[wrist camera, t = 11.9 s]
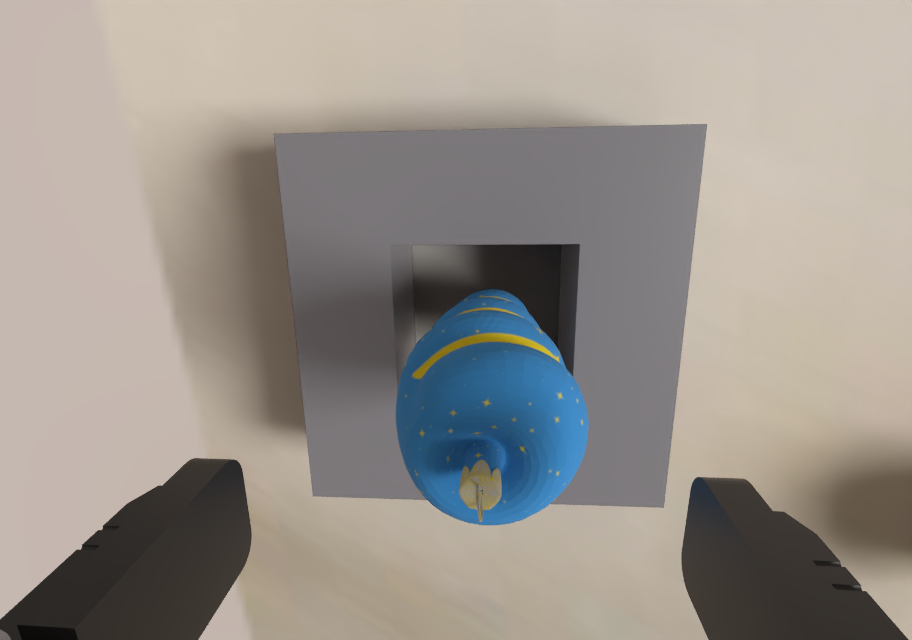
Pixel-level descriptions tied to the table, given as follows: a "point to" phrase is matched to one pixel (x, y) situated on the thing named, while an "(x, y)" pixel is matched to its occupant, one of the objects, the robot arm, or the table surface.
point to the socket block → (492, 223)
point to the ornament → (489, 413)
